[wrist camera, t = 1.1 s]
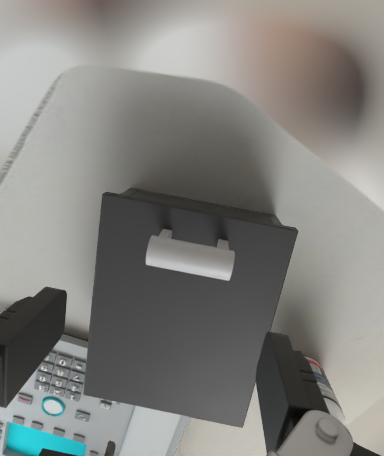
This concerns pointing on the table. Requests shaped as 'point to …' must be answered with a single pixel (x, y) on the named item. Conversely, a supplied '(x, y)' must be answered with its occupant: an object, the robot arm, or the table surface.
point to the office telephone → (80, 414)
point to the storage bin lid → (182, 307)
